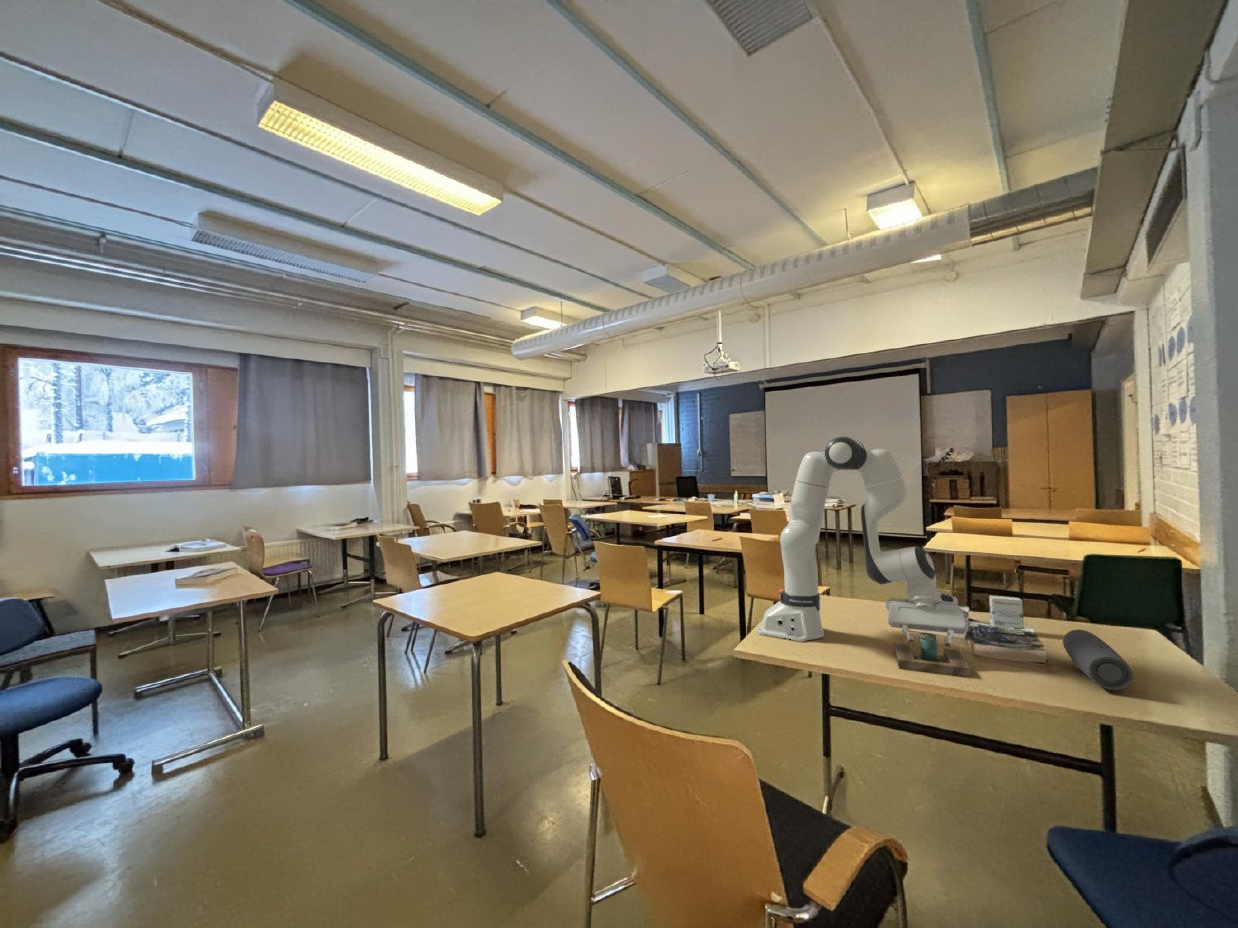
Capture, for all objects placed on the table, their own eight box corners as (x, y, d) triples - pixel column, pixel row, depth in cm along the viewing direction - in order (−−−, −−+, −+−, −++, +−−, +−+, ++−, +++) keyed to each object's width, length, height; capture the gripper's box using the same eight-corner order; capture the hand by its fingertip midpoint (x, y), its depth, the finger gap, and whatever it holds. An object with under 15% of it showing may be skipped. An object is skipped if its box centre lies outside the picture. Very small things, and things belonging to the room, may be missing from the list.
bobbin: (918, 664, 144) (917, 637, 144) (916, 657, 150) (915, 630, 150) (942, 667, 142) (941, 639, 142) (939, 660, 147) (938, 633, 147)
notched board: (899, 668, 142) (898, 659, 142) (894, 651, 155) (894, 643, 155) (970, 677, 135) (970, 668, 135) (959, 658, 148) (958, 650, 148)
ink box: (1021, 631, 169) (1020, 597, 169) (1024, 636, 165) (1023, 600, 165) (989, 628, 173) (988, 594, 173) (992, 632, 169) (991, 598, 169)
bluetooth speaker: (1137, 698, 121) (1136, 657, 121) (1086, 691, 126) (1085, 651, 126) (1103, 664, 141) (1102, 629, 141) (1060, 659, 146) (1059, 625, 146)
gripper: (885, 592, 156) (889, 633, 147) (963, 598, 147) (972, 642, 139) (884, 602, 160) (888, 643, 151) (960, 609, 152) (968, 652, 143)
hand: (929, 642), depth 145 cm, fingers open, 8 cm apart
